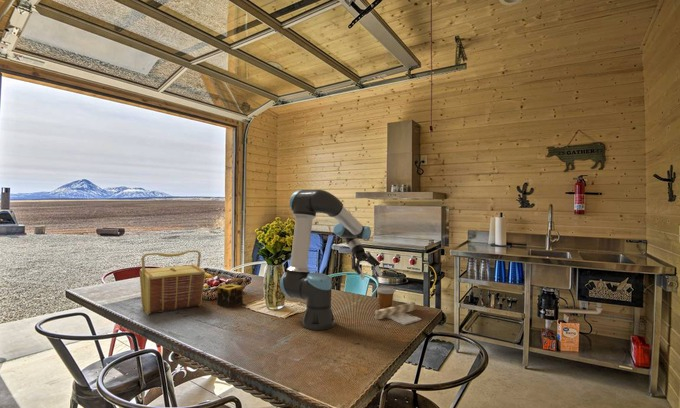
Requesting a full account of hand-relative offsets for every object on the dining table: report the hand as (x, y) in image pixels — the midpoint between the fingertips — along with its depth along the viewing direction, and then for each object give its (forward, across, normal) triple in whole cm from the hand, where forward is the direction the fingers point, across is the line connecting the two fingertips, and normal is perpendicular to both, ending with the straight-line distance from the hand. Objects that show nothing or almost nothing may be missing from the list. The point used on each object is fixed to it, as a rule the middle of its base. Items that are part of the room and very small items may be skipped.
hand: (372, 277), depth 186 cm
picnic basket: (-28, +95, -51) cm, 111 cm away
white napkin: (+30, +2, +8) cm, 31 cm away
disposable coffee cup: (+19, 0, -4) cm, 20 cm away
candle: (-20, +67, -43) cm, 82 cm away
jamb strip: (+25, 0, +2) cm, 25 cm away
